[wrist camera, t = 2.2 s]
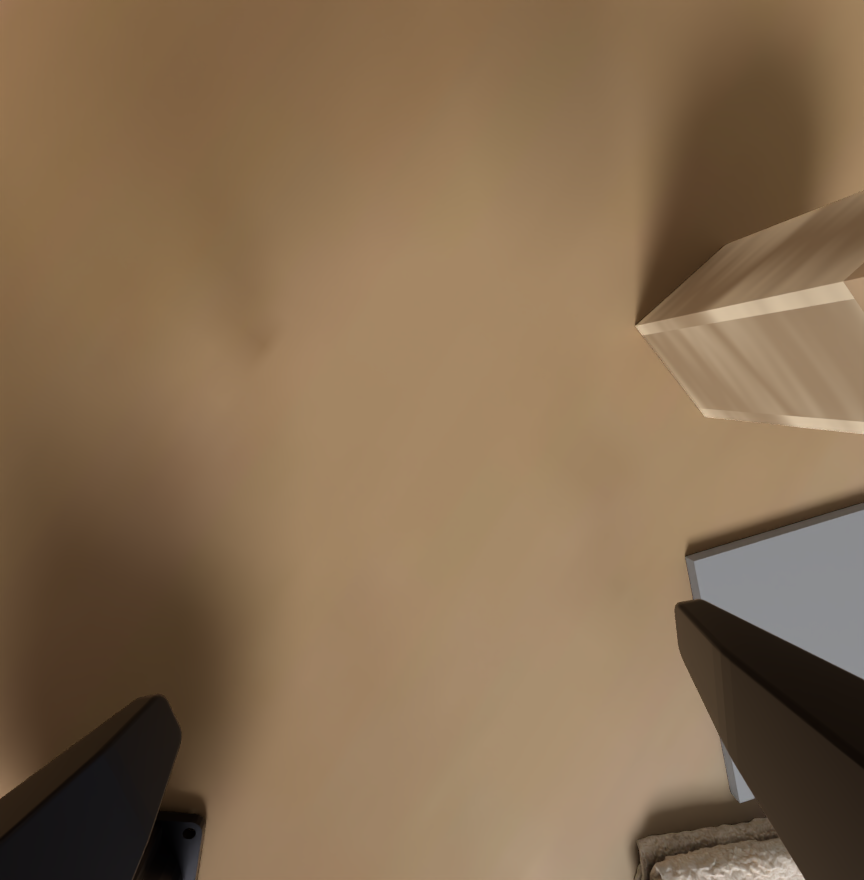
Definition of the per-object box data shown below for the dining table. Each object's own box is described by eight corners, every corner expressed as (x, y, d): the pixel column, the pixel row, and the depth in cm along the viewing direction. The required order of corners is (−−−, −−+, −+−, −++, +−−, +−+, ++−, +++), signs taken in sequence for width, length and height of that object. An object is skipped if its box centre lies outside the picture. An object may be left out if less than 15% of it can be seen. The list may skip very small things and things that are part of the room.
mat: (730, 792, 24) (740, 803, 23) (685, 556, 22) (693, 561, 21) (955, 715, 24) (969, 723, 24) (928, 482, 23) (943, 485, 22)
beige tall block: (705, 417, 21) (980, 446, 12) (635, 325, 20) (868, 275, 11) (792, 338, 21) (1141, 301, 12) (725, 244, 20) (1040, 120, 11)
